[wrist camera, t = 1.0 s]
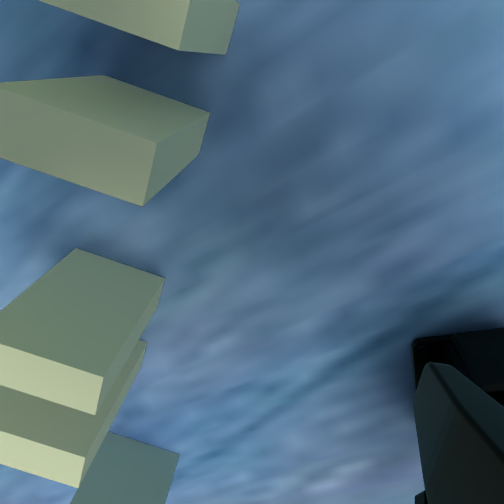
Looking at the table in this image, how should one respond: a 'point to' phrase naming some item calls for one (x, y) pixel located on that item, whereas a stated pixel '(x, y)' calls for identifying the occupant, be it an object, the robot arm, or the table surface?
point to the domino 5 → (127, 473)
